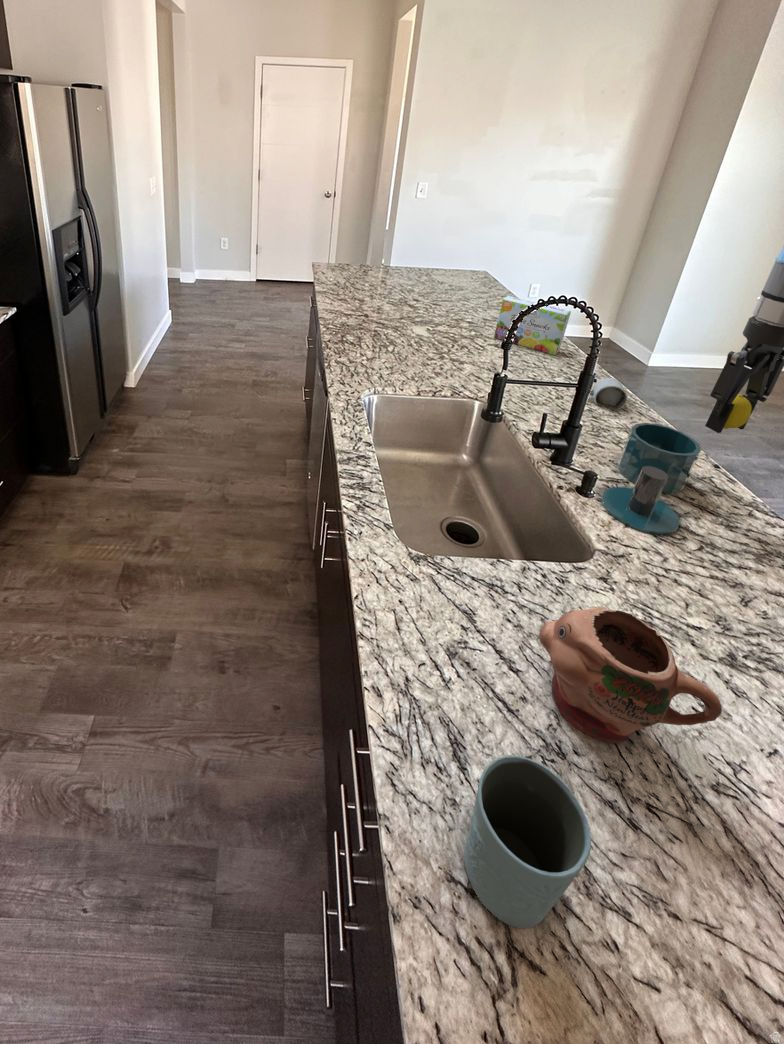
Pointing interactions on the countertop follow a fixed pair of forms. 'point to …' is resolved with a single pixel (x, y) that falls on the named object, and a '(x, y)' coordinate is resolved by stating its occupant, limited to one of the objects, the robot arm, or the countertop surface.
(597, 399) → the ceramic mug
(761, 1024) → the countertop surface
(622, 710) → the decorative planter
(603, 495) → the lid
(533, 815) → the teal cup
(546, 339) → the snack box
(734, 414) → the lemon
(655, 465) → the pot
